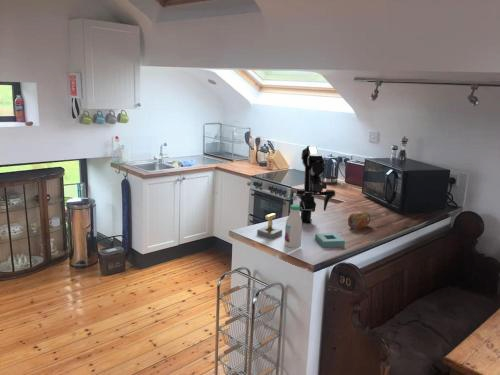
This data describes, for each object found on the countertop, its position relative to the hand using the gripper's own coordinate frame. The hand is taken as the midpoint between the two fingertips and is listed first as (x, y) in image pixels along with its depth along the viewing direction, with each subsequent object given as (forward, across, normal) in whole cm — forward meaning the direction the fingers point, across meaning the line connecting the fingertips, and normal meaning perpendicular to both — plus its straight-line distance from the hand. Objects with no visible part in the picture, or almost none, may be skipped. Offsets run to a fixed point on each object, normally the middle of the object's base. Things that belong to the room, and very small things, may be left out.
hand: (315, 210), depth 211 cm
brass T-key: (+11, -21, +11) cm, 26 cm away
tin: (+4, +28, +28) cm, 40 cm away
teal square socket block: (+15, +8, +5) cm, 18 cm away
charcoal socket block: (+12, -21, +11) cm, 27 cm away
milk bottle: (+18, -11, 0) cm, 21 cm away
